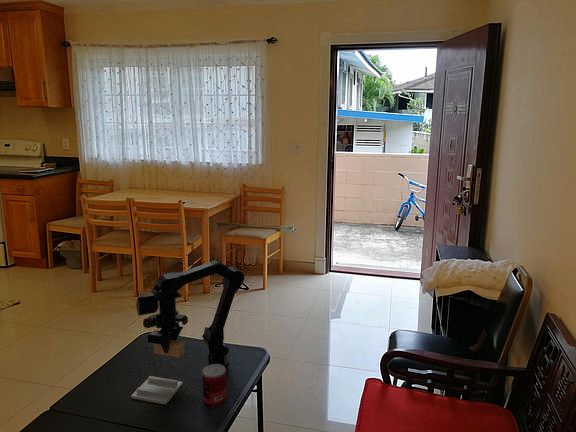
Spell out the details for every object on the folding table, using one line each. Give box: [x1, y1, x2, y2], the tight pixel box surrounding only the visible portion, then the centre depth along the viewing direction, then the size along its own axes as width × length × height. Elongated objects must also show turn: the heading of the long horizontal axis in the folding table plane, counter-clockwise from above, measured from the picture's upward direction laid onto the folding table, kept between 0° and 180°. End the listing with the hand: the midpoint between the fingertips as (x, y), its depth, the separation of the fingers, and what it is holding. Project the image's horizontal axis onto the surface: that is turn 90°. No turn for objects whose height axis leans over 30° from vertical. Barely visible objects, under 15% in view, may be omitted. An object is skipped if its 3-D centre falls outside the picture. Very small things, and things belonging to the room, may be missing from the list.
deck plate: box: [130, 375, 184, 405], centre depth 158 cm, size 13×12×2 cm
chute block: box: [153, 340, 185, 358], centre depth 164 cm, size 10×4×4 cm, turn 75°
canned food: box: [201, 364, 227, 407], centre depth 153 cm, size 8×8×11 cm
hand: (169, 350), depth 164 cm, fingers closed on chute block, 4 cm apart
